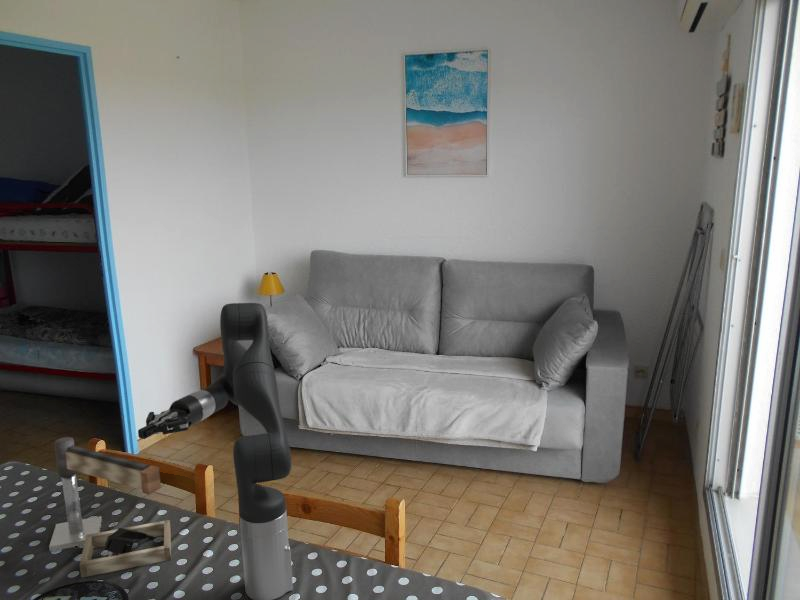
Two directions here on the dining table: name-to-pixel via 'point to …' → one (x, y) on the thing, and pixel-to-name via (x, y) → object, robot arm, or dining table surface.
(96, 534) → the frame
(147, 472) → the bar
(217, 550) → the dining table surface
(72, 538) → the arm post
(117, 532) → the power plug
